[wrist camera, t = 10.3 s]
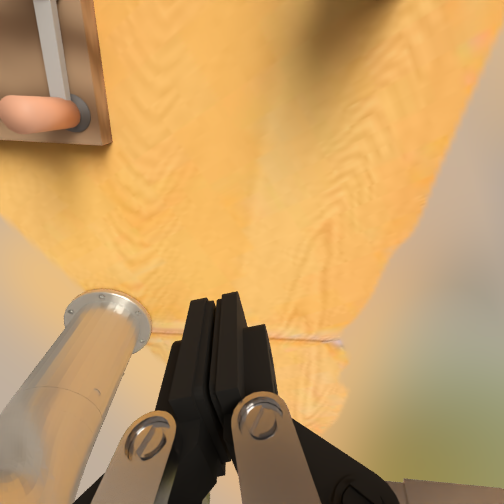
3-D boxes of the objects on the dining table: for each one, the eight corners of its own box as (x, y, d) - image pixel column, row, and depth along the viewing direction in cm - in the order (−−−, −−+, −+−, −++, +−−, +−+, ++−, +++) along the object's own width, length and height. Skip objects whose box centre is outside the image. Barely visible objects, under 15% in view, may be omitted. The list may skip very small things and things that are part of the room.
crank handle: (83, 129, 31) (40, 136, 24) (55, 126, 31) (3, 132, 24) (61, -28, 25) (-3, -77, 19) (27, -33, 25) (-51, -84, 18)
